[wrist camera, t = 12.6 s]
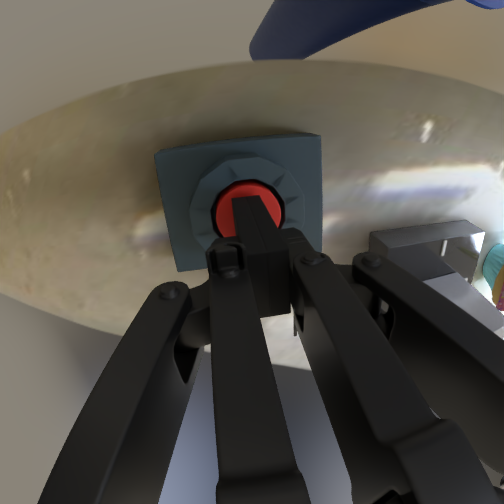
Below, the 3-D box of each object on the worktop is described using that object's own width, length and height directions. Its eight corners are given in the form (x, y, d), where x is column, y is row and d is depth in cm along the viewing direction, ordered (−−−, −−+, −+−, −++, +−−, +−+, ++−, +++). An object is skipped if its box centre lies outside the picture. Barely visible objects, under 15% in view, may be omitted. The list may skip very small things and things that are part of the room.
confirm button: (273, 175, 17) (279, 181, 15) (276, 230, 19) (282, 242, 17) (211, 182, 17) (211, 189, 15) (219, 238, 18) (220, 250, 17)
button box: (309, 132, 18) (332, 138, 15) (312, 239, 22) (331, 265, 18) (160, 149, 18) (146, 158, 14) (180, 257, 21) (175, 287, 18)
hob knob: (456, 271, 22) (512, 324, 15) (450, 294, 23) (500, 348, 16) (413, 282, 22) (471, 346, 14) (407, 307, 23) (458, 371, 16)
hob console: (465, 219, 23) (486, 232, 20) (445, 300, 28) (460, 316, 25) (370, 231, 22) (389, 249, 20) (357, 324, 27) (370, 346, 24)
